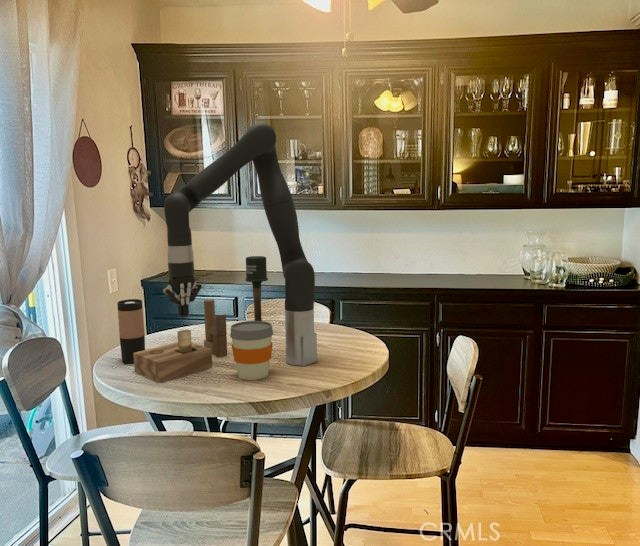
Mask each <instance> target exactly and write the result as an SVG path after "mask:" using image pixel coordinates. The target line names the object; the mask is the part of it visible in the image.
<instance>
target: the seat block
mask: <svg viewBox="0 0 640 546" xmlns="http://www.w3.org/2000/svg"><path fill="white" fill-rule="evenodd" d="M191 344H192V352H188V353H184V354H182V353H179V352H178V341H176V342H173V343H169V344H164V345H161V346H156V347H153V348H147V349H145V350H143V351H139V352H135V353H133V356H134V365H133V367H134V370H133V371H134V373H136V372H137V373H136V374H138V373H139V375H140V376H143V375H144V376H143V377H145V376H146V377H145V378H148V379H150V380H152V379H153V380H152V381H154V380H155V382H157V381H158V382H157V383H159V382H160V383H159V384H162V383H164V382H165V381H166V382H168V381H169V382H170V381H171V380H175V379H178V378H182V377H185V375H186V376H188V375H193V374H194V373H197V372H201V371H205V370H209V369H211V368H213V357H212V356H213V354H212V350H211V349H210V348H207V347H204V345H200V344H197V343H194V342H191ZM161 382H162V383H161Z"/></svg>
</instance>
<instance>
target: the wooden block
mask: <svg viewBox="0 0 640 546" xmlns="http://www.w3.org/2000/svg"><path fill="white" fill-rule="evenodd" d="M215 308H216V306H215V299H212V298H207V299H203V311H204V312H203V313H204V314H203V315H204V333H205V334H204V335H205V336H204V338H205V339H204V340H203V346H204V347H207V348H210V349H211V350H212V356H213V355H214V356H216V357H217V358H221V357H225V356H228V342H227V341H228V339H227V338H228V337H227V334H228V333H227V315H226V313H225V314H219V315H216V309H215Z"/></svg>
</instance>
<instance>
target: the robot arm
mask: <svg viewBox="0 0 640 546" xmlns="http://www.w3.org/2000/svg"><path fill="white" fill-rule="evenodd" d="M276 144H277V134H276V132H275V129H274V128H273V127H272V126H271V125H269V124H267V123H265V122H256V123H254V124H251V125H250V126H249V127H248V129H247V130H246V132H245V133H244V134H243V135H242V136H241V137H240V139H238V141H237V142H236V143H235V144H234V145H232V147H231V148H230V149H228V150H227V151H226V152H225V153H223V154H222V155H221V156H220V157H218V158H216V160H214V161H213V162H211V163H210V164H209V165H207V166H206V167H204V169H202V170H201V171H199V172H198V173H197V174H195V175H194V176H193V177H192V178H191V179H190V180H189V181H188V182H187V184H186V185H184V186H183V187H182V188H180V189H179V190H178V191H176V192H175V193H171V194H169V195H167V197H166V198H165V200H164V204H163V209H164V210H163V211H164V218H165V225H166V230H167V232H166V233H167V234H166V236H167V237H166V238H167V254H166V255H167V269H168V271H167V272H168V277H169V280H168V283H167V286H166V287H165V288H162V289H161V293H163V294H164V296H165V297H166V298H167V299H168V300H169V302H171V304H174V305H177V314H178V315H179V316H180V318H186V317H188V315H189V313H190V311H189V310H190V309H189V307H190V305H189V304H190V303H191V302H195V299H196V298H197V296H198V294H199V293H200V291H201V289H202V284H200V283H197V282H196V278H195V276H194V275H195V264H194V260H195V259H194V250H193V244H192V242H193V241H192V230H191V227H190V212H191V211H193V210H194V209H195V208H196V207H197V206H198V205H199V204H200V203H201V202H203V200H206V199H207V198H209V197H210V196H211V195H212V194H213V193H216V191H217V190H219V189H220V188H221V187H223V186H224V184H225V183H227V182H228V181H229V180H230V179H232V177H233V176H234V175H235V174H236V173H237V172H239V170H241V169H242V168H243V167H244V166H246V165H247V164H249V163H250V162H252V163H253V166H254V169H255V171H256V175H257V180H258V184H259V191H260V192H259V193H260V196H261V201H262V204H263V209H264V212H265V215H266V219H267V221H268V225H269V228H270V229H271V233H272V235H273V237H274V240H275V242H276V245H277V248H278V253H279V258H280V262H281V268H282V276H283V278H284V282H285V283H284V288H285V289H284V292H285V296H284V297H285V299H284V324H285V325H284V330H285V333H284V334H285V336H284V337H285V362H286V363H287V364H289V365H293V366H303V367H306V366H308V365H312V364H314V363H317V362H318V344H317V343H318V342H317V341H318V339H317V332H315V314H314V313H315V311H314V310H315V299H316V292H315V291H316V290H315V289H316V284H315V283H316V277H315V275H316V273H315V270H314V267H313V265H312V264H311V263H310V262H309V261H308V259H307V257H306V254H305V252H304V249H303V246H302V243H301V239H300V232H299V231H300V229H299V221H298V215H297V210H296V207H295V204H294V203H295V202H294V199H293V196H292V193H291V190H290V188H289V186H288V183H287V181H286V179H285V177H284V175H283V173H282V170H281V167H280V163H279V160H278V154H277V149H276V147H277V146H276ZM173 293H174V294H173Z"/></svg>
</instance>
